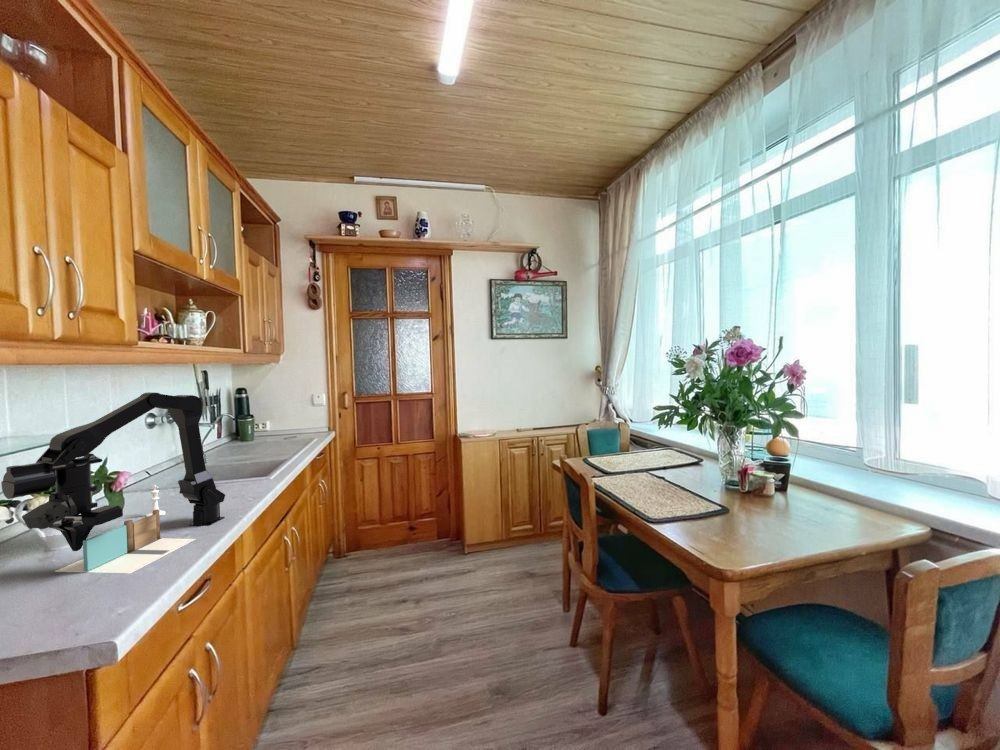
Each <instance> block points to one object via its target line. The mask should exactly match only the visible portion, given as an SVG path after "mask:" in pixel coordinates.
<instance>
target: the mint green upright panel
mask: <svg viewBox="0 0 1000 750" xmlns="http://www.w3.org/2000/svg"><path fill="white" fill-rule="evenodd" d="M82 553H83V554H82V555H83V556H82V559H83V560H84V571H89V570H91V569H93V568H95V567H98V566H100V565H102V564H104V563H106V562H108V561H110V560H113V559H115V558H117V557H119V556H121V555H123V554H125V553H127V530H126V525H124V524H123V525H120V526H118V527H114V528H113V529H110V530H107V531H104V532H102V533H100V534H98V535H97V534H96V535H95V536H92V537H88V538H87V539H86V540H84V541H83V546H82Z"/></svg>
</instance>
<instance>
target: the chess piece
mask: <svg viewBox="0 0 1000 750" xmlns="http://www.w3.org/2000/svg"><path fill="white" fill-rule="evenodd" d="M158 488H159V486H157V485H156V484H153V486H152V487H151V488H150V489H152V490H151V491H150V493H151V496H152V498H151V499H150V500H151V501H153V502H152V507H151V508H152V509H151V511H150V512H149V513H146V514H145V517H148V516H150V515H153V510H157V509H159V515H160V516H163V515H164V516H165V515H166V511H165V510H161V509H160V508H159V503H158V500H159V499H160V497H159V492H160V490H159V489H158Z"/></svg>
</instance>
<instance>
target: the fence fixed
mask: <svg viewBox="0 0 1000 750" xmlns="http://www.w3.org/2000/svg"><path fill="white" fill-rule="evenodd" d="M159 509H160V508H159ZM159 509H157V510H153V515H150V516H148V517H146V516H145V517H144V518H143V517H142V518H141V519H138V520H135V521H133V520H134V519H128V520H125V521H123V525H126V530H127V553H130V552H133V551H134V550H136V549H138V548H140V547H142V546H144V545H146V544H149V543H151V542H153V541H155V540H157V539H160V538H161V523H160V522H161V519H160V516H161V515H159Z"/></svg>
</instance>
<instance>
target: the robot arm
mask: <svg viewBox="0 0 1000 750" xmlns="http://www.w3.org/2000/svg"><path fill="white" fill-rule="evenodd" d="M155 408H157V409H162V410H167V411H168V412H169V415H170V418H171V420H172V421H173V422H174V423H175V425H176V426H177V428H178V433H179V440H180V441H179V442H180V447H181V451H182V458H183V464H184V469H185V475H184V477H183V478H182V479H179V480H178V481H177V482H178V486H179V494H181V495H182V497H184V498H185V499H186V500H188V502H189V504H194V505H193V511H192V522H191V523H190V524H188V525H189V526H192V527H194V526H195V527H196V526H197V527H206V526H207V527H209V526H211V525H214V524H215V523H217V522H220V521H221V520H223V519H225V516H221V508H220V507H221V506H220V503H223V502H224V501H225V497H226V494H225V493H224V492H222V491H221V490H219V489H217V485H216V484H215V481H214V479H213V478H214V477H212V475H211V474H210V472H208V470H207V467H206V461H205V455H204V449H203V443H202V437H201V430H200V421H201V420H202V419H201V418H202V416H203V409H204V407H203V400H202V399H201V397H198V396H197V395H193V394H191V395H189V394H187V395H186V394H178V395H169V394H164V393H163V394H162V393H160V392H144V393H142V394H140V395H139V396H137V398H135V399H132V400H131V401H129V402H127V403H125V404H123V405H122V406H120V407H118V408H116V409H114V410H112V411H111V412H109V413H107V414H105V415H104V416H102V417H99V418H97V419H96V420H94V421H92V422H89V423H87V424H83V425H79V426H75V427H72V428H70V429H68V430H65V431H62V432H60V433H57V434H55V435H54V436H53V437H52V438H51V439H50V442H49V446H48V448H47V449H46V450H45V451H44V452H43V453H42V454H41V455H40V457H39V458H38V459H37V460H36V461H35V462H33V463H28V464H21V465H20V464H19V465H11V466H7V467H5V470H6V473H4V475H3V477H2V481H1V490H2V493H3V494H2V495H4V497H5V498H6V499H8V500H12V499H15V498H19V497H25V496H30V495H34V494H39V493H45V492H49V490H50V489H51V488H54V487H55V491H53V492H50V494H49V496H48V501H47V502H45V503H42V504H40V505H39V506H38V505H37V506H36V507H35V508H33V509H31V510H30V511H28V512H26V513H24V514H23V515H22V516H21V518H22V520H23V522H24V524H25V525H26V527H27V528H28V529H29V530H32V529H39V530H45V529H48V528H49V529H54V530H57V531H59V532H60V533H61V534H62V535H63V537H64V539H65V540H66V542H67V544H68V546H69V547H70V549H71V550H72V552H77V551H80V550H81V549H83V541H84V540H87V539H88V538H89V535H90V534H91V532H92V530H93V528H94V527H96V526H100V525H103V524H106V523H108V522H111V521H114V520H116V519H119V518H122V517H123V516H124V508H123V507H122V506H120V505H114V504H113V505H102V506H100V507H99V506H98V502H93V496H92V495H93V492H95V491H98V488H97V487H98V486H97V485H92V471H91V470H92V468H91V467H92V466H91V465H92V464H98V463H102V462H103V459H102V458H100V457H98V456H96V455H95V454H94V453H92V451H94V450H95V449H96V448H98V447H99V446H100V445H101V444H103V443H104V441H105V440H106V438H108V437H109V436H110V435H112V434H113V433H114V432H116V431H118V430H119V429H121V428H122V427H125V426H126V425H128V424H129V423H132V422H133V421H135V420H136V419H138V418H140V417H141V416H143V415H145V414H147V413H149V412H150V411H153V409H155Z"/></svg>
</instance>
